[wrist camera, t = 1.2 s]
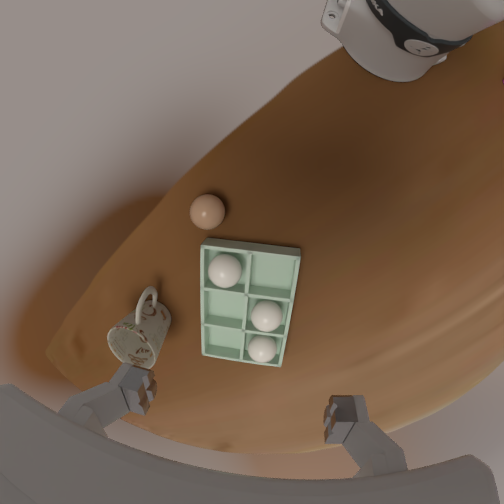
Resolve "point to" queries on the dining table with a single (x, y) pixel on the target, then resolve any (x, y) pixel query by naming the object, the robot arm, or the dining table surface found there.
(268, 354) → the white egg
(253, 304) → the egg tray
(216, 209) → the brown egg
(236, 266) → the white egg
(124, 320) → the mug
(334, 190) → the dining table surface
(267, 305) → the white egg
